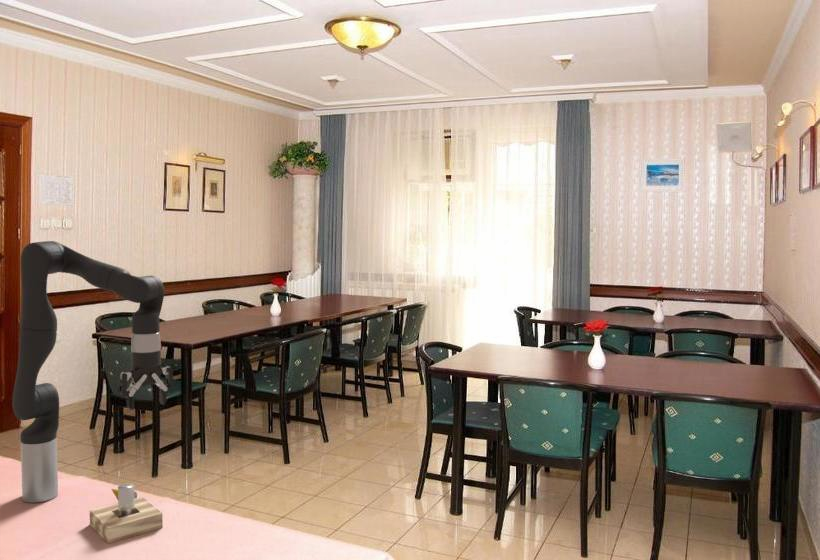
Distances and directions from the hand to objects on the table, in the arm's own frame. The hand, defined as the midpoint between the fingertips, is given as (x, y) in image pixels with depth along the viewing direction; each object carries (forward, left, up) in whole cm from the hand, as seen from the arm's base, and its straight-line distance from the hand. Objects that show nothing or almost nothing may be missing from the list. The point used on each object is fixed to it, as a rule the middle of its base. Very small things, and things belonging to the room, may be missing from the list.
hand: (147, 406), depth 189 cm
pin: (+5, -8, -29) cm, 31 cm away
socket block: (+5, -8, -30) cm, 32 cm away
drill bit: (-6, -4, -30) cm, 31 cm away
